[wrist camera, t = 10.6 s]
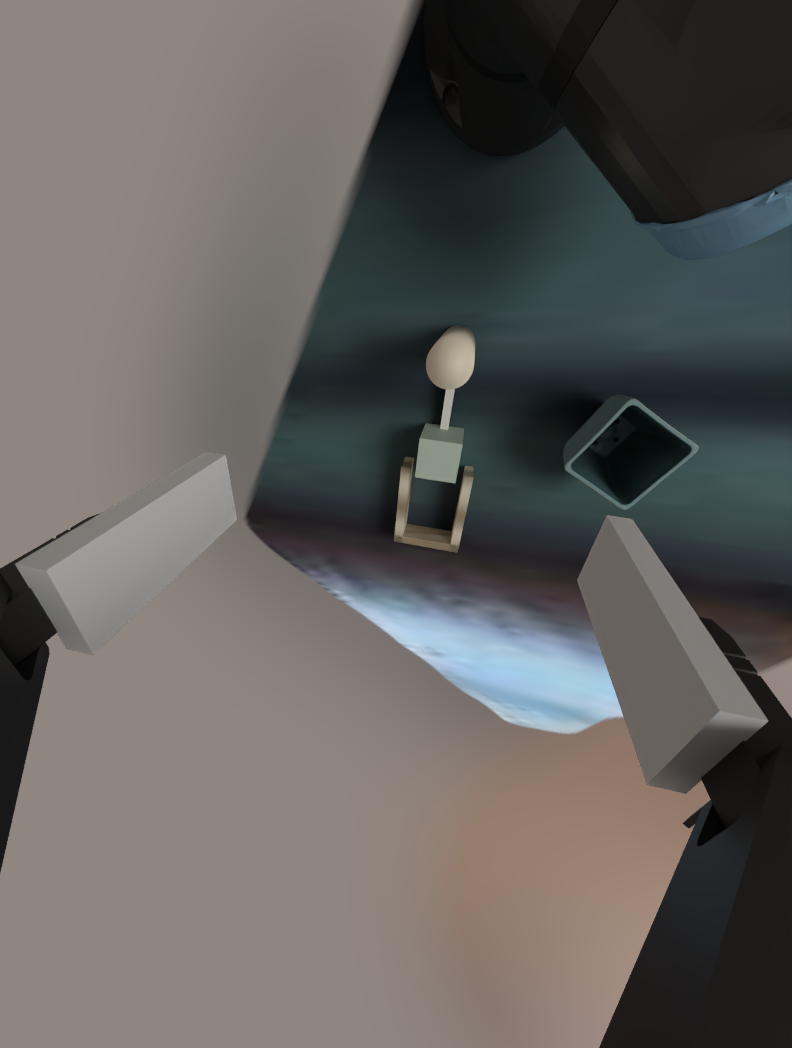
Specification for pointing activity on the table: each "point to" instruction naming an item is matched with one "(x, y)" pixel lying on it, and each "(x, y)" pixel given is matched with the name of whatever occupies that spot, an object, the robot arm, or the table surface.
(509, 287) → the table surface
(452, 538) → the beige u-shaped frame
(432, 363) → the beige teardrop-shaped paddle
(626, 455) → the flower pot
